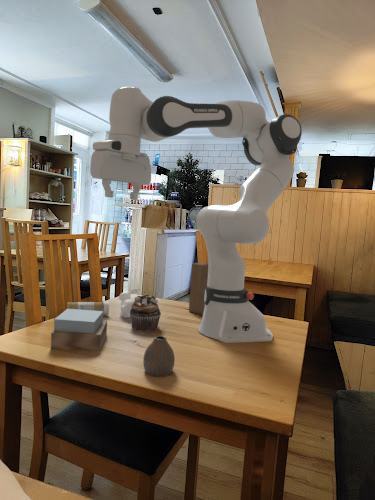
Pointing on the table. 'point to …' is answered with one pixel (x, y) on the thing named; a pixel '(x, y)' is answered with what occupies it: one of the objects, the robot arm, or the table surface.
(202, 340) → the table surface
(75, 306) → the sprinkles bottle
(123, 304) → the rabbit
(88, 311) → the tower top block
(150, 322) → the cupcake
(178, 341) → the table surface
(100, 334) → the tower base block
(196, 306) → the wooden block
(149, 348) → the vase
